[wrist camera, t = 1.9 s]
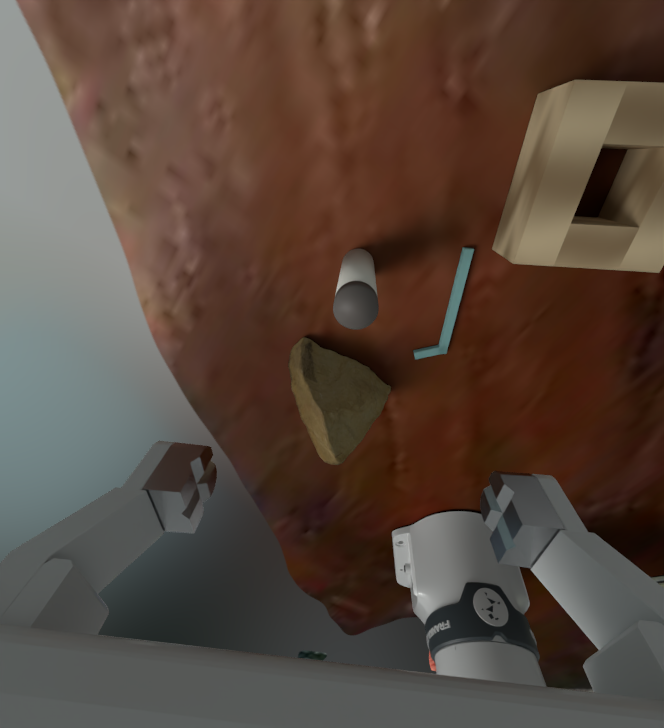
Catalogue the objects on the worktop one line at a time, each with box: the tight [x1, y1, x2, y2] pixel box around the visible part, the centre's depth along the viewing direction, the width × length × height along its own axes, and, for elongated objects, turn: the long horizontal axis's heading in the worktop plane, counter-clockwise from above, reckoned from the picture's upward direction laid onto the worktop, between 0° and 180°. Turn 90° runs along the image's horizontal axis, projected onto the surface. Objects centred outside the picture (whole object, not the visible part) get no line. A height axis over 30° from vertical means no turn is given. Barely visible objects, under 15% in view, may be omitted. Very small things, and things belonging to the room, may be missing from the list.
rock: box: [288, 337, 391, 465], centre depth 32 cm, size 11×9×10 cm
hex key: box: [413, 247, 474, 359], centre depth 30 cm, size 11×3×1 cm, turn 178°
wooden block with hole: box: [492, 80, 664, 273], centre depth 22 cm, size 10×10×4 cm
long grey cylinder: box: [333, 249, 378, 329], centre depth 24 cm, size 3×3×10 cm
